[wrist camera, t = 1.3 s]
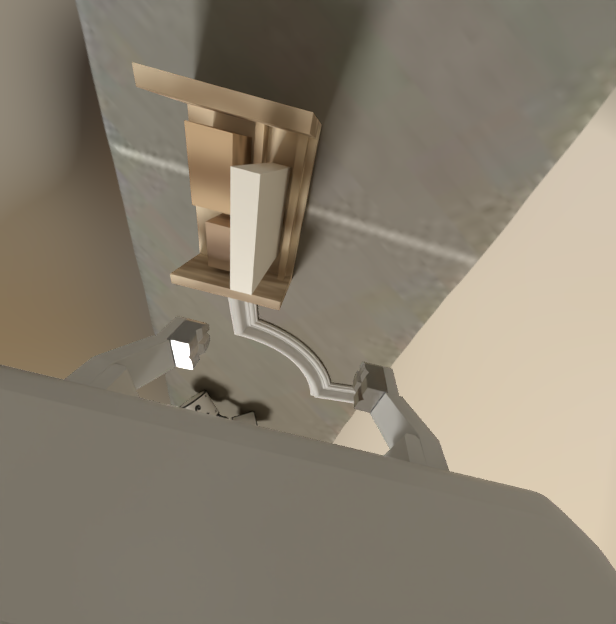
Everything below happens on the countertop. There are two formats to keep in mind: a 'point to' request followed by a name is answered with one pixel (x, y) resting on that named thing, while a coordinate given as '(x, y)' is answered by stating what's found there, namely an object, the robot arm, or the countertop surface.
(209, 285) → the offcut rack
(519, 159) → the countertop surface
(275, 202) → the white square panel
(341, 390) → the molding
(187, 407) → the patterned dumbbell
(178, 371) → the countertop surface
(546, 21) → the countertop surface
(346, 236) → the countertop surface
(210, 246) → the walnut offcut
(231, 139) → the oak offcut
